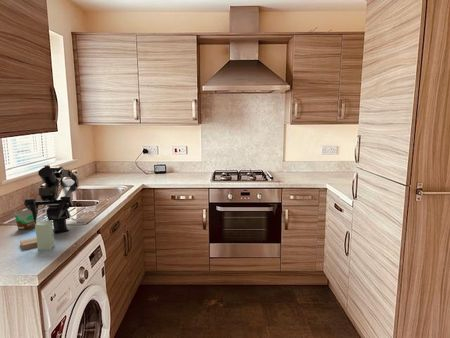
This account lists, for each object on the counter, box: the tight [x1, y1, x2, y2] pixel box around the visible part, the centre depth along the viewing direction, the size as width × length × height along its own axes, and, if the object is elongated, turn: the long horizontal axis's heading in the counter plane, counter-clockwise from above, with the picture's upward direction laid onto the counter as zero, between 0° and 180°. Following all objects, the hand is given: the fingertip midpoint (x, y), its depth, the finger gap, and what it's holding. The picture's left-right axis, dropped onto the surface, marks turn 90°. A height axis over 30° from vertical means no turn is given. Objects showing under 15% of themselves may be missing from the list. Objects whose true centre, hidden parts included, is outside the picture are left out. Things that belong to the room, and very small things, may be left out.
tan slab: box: [19, 236, 38, 251], centre depth 141 cm, size 7×7×2 cm
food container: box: [13, 208, 37, 231], centre depth 164 cm, size 12×6×10 cm, turn 170°
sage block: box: [34, 220, 55, 251], centre depth 138 cm, size 5×5×11 cm
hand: (46, 219), depth 140 cm, fingers open, 9 cm apart
